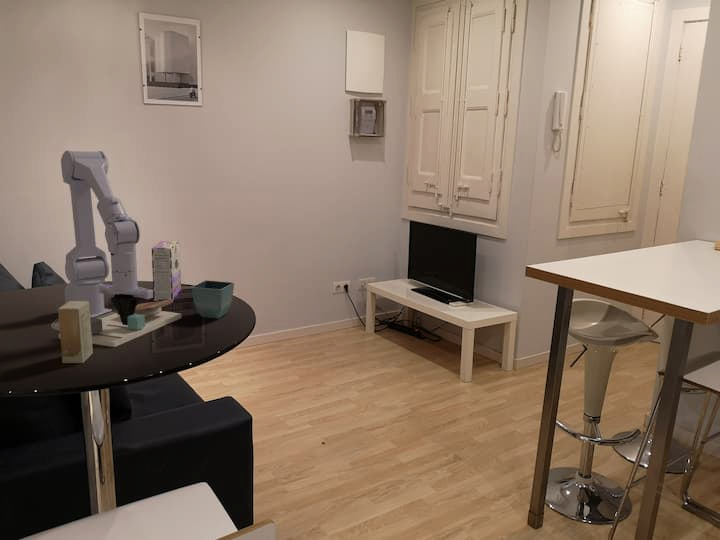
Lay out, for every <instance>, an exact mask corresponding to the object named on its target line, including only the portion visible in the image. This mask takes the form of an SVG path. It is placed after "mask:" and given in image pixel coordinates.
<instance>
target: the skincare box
mask: <svg viewBox="0 0 720 540" xmlns="http://www.w3.org/2000/svg"><path fill="white" fill-rule="evenodd" d="M57 312H58V324H59V334H60V338H61V339H60V348H61V358H62V359H61V360H62V364H84V363H85V362H86V360H88V358H90V357H91V356H92V354H94V352H93V344H92V336H91V322H90V319H91V318H90V309H89V301H69V302H67V303H66V304H65V303H64V304H63V305H61V306H60V307H59V308H57Z"/></svg>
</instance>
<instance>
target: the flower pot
mask: <svg viewBox="0 0 720 540" xmlns="http://www.w3.org/2000/svg"><path fill="white" fill-rule="evenodd" d="M234 288H235V283H234V282H230V281H217V280H203V281H201V282H199V283H197V284H195V285H193V286H192V287H191V292H192V293H191V294H192V299H193V304H194V306H195V309H196V311H197V313H198V314H199V316H201V317H202V318H209V319H220V318H222V317H223V316H224V315H226V314H227V313H228V311H229V310H230V308H231V304H232V302H233V296H234Z"/></svg>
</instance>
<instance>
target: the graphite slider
mask: <svg viewBox="0 0 720 540" xmlns="http://www.w3.org/2000/svg"><path fill="white" fill-rule="evenodd" d="M90 322H91V334H92V335H95V334H97V333H100V332H102V331H103V330H102V319H101V318H96V317H93V318H90Z"/></svg>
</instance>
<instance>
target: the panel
mask: <svg viewBox="0 0 720 540" xmlns="http://www.w3.org/2000/svg"><path fill="white" fill-rule="evenodd" d="M162 308H163V307H160V308H158V309H155V310H153V311H146V312H138V313H134V314H140V315H145V327H143V328H141V329H138V330H135V329H128V325H123V324H122V321H121V318H120V316H119V315H117V312H116V313H113V314H110V315H107V316H104V317H102V318H100V319H102V330H103V331H102V332H100V333H97V334H95V335H92V334H91V336H92V345H99V346H106V347H112V348H115V347H118V346H120V345H123V344H126V342H127V343H128V342H130V341H132V340H134V339H136V338H139V337H141V336H143V335H145V334H148V333H150V332H152V331H154V330H157V329H160V328H161V327H164V326H166V325H168V324H171V323H173V322H175V321H178V320H180V319H182V313H181V312H180V313H178V312H173V311H172V312H170V311H163V310H162ZM58 339H59V340H61V338H60V333H58Z"/></svg>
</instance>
